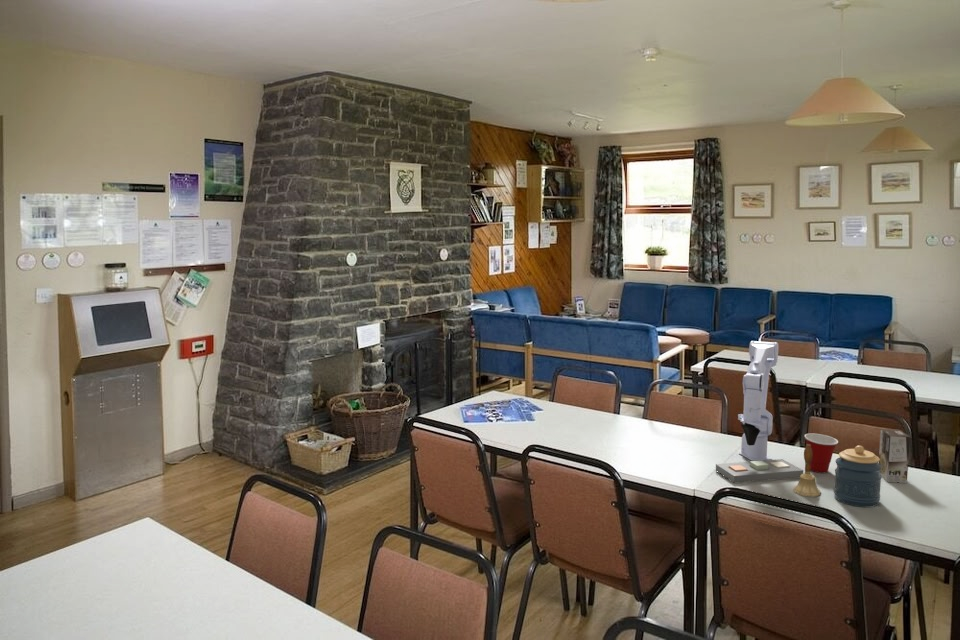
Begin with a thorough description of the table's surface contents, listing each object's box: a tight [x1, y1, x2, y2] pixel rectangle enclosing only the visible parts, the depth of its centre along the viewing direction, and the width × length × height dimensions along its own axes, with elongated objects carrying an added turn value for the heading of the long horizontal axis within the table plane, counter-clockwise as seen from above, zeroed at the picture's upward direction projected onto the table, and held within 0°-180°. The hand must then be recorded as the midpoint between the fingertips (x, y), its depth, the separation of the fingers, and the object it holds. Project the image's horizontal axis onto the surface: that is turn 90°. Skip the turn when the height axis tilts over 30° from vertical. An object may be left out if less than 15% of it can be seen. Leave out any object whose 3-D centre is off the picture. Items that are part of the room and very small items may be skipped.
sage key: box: [749, 460, 769, 470], centre depth 242 cm, size 4×4×2 cm
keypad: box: [715, 458, 804, 484], centre depth 242 cm, size 12×26×2 cm, turn 100°
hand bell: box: [792, 444, 822, 497], centre depth 225 cm, size 8×8×16 cm
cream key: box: [770, 462, 789, 468], centre depth 244 cm, size 4×4×2 cm
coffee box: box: [878, 428, 911, 484], centre depth 236 cm, size 9×6×16 cm
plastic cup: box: [804, 432, 839, 474], centre depth 245 cm, size 11×11×12 cm
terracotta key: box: [729, 465, 747, 472], centre depth 241 cm, size 4×4×2 cm
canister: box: [833, 445, 883, 508], centre depth 218 cm, size 13×13×18 cm
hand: (750, 444), depth 245 cm, fingers closed
